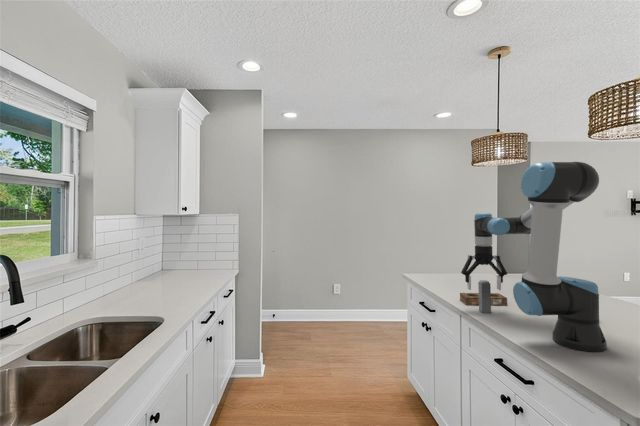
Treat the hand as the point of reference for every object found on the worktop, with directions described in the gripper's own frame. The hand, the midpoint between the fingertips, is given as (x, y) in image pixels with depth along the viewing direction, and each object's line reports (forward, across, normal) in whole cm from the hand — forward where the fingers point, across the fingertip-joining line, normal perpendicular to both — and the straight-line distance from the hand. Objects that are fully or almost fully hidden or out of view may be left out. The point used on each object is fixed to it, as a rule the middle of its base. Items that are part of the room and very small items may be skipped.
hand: (484, 289), depth 155 cm
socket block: (+11, -5, -15) cm, 20 cm away
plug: (+11, 0, +1) cm, 11 cm away
